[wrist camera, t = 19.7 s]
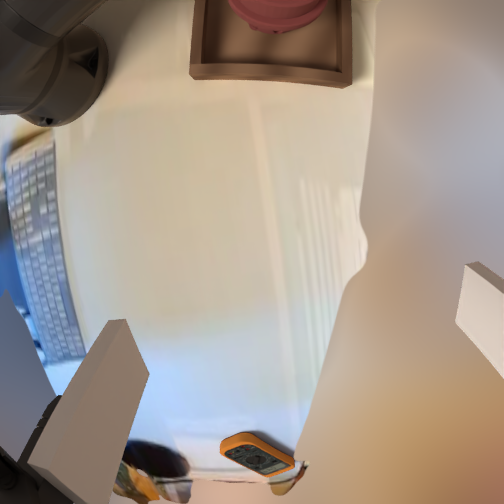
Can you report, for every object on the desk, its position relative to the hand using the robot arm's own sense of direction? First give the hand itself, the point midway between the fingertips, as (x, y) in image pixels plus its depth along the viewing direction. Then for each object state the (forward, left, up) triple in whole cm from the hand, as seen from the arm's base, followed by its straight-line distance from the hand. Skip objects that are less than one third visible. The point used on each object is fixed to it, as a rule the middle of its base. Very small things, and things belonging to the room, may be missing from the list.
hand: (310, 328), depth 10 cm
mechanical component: (-16, +16, -28) cm, 36 cm away
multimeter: (+40, -38, -29) cm, 63 cm away
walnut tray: (-16, +16, -29) cm, 37 cm away
